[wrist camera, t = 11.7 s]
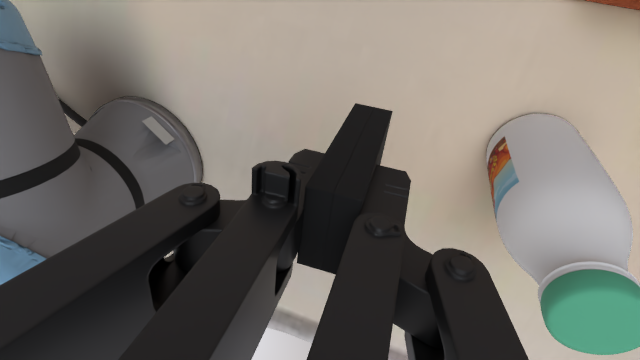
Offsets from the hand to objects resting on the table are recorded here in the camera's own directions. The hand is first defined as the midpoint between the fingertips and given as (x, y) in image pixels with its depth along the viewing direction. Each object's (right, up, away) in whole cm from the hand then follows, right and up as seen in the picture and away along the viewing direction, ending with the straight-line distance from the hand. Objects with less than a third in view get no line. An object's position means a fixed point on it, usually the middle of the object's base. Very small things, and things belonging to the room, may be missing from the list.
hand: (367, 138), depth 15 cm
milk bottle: (+18, +1, +19) cm, 26 cm away
